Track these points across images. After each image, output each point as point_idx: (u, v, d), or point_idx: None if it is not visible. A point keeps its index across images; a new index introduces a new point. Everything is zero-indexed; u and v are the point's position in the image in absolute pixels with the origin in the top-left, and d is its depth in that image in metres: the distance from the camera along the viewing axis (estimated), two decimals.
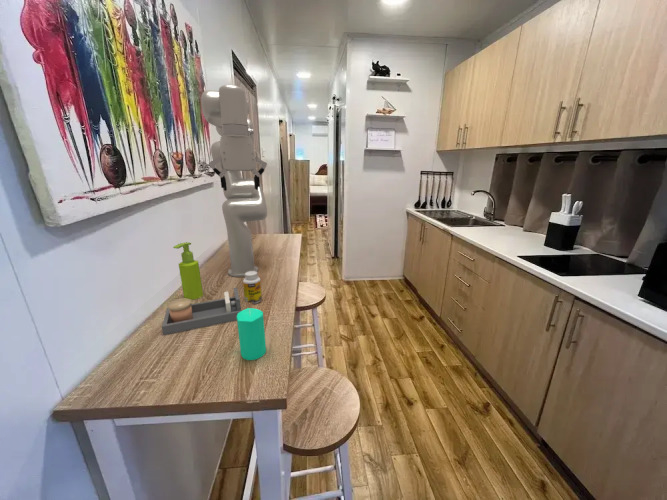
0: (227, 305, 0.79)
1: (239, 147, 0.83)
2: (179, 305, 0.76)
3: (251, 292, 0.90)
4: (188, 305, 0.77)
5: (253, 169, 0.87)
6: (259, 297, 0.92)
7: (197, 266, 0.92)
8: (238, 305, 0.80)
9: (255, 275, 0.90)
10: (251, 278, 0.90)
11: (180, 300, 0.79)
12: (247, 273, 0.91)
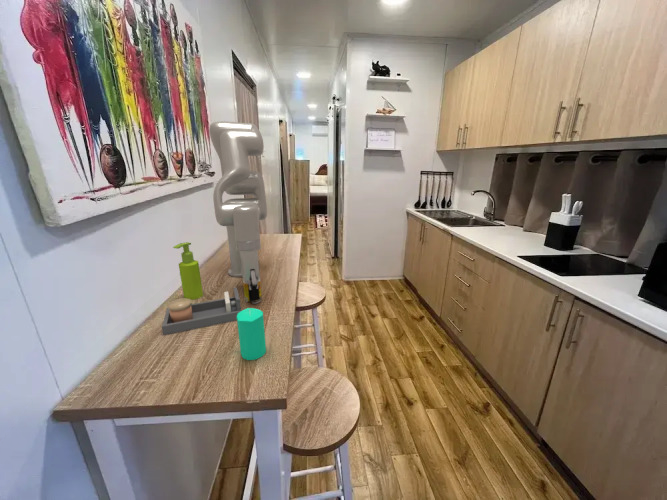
0: (227, 305, 0.79)
1: None
2: (179, 305, 0.76)
3: None
4: (188, 305, 0.77)
5: None
6: (259, 297, 0.92)
7: (197, 266, 0.92)
8: (238, 305, 0.80)
9: None
10: None
11: (180, 300, 0.79)
12: None
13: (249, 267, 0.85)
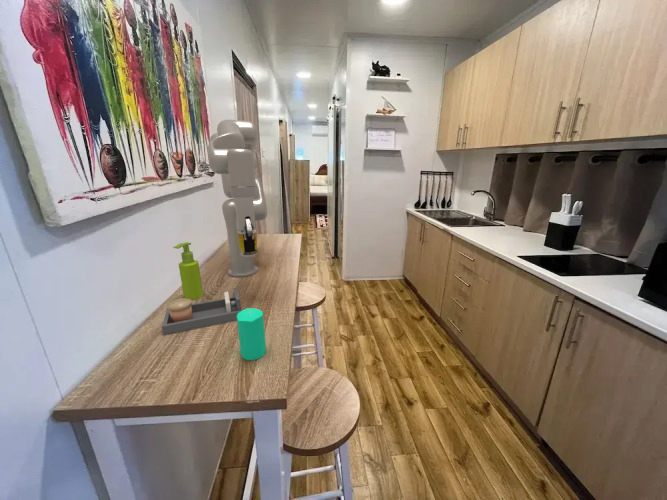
0: (227, 305, 0.79)
1: None
2: (179, 305, 0.76)
3: None
4: (188, 305, 0.77)
5: None
6: (255, 250, 0.88)
7: (197, 266, 0.92)
8: (238, 305, 0.80)
9: None
10: (246, 228, 0.85)
11: (180, 300, 0.79)
12: None
13: (244, 214, 0.81)
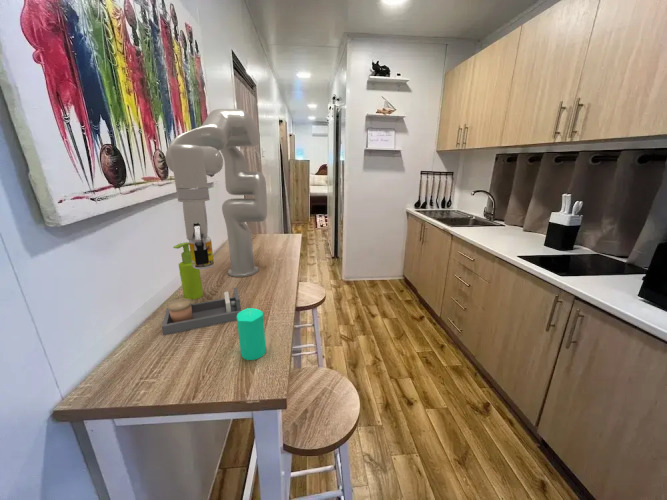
0: (227, 305, 0.79)
1: None
2: (179, 305, 0.76)
3: None
4: (188, 305, 0.77)
5: None
6: (209, 261, 0.76)
7: None
8: (238, 305, 0.80)
9: None
10: None
11: (180, 300, 0.79)
12: None
13: (192, 221, 0.69)
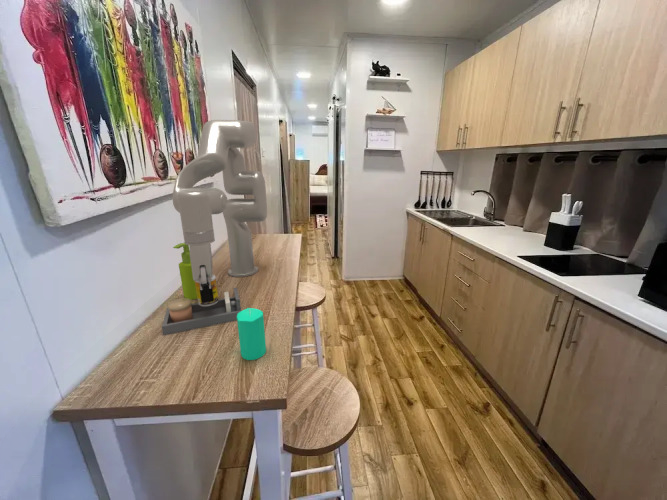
0: (227, 305, 0.79)
1: None
2: (179, 305, 0.76)
3: None
4: (188, 305, 0.77)
5: None
6: (214, 298, 0.79)
7: None
8: (238, 305, 0.80)
9: None
10: None
11: (180, 300, 0.79)
12: None
13: (198, 263, 0.72)
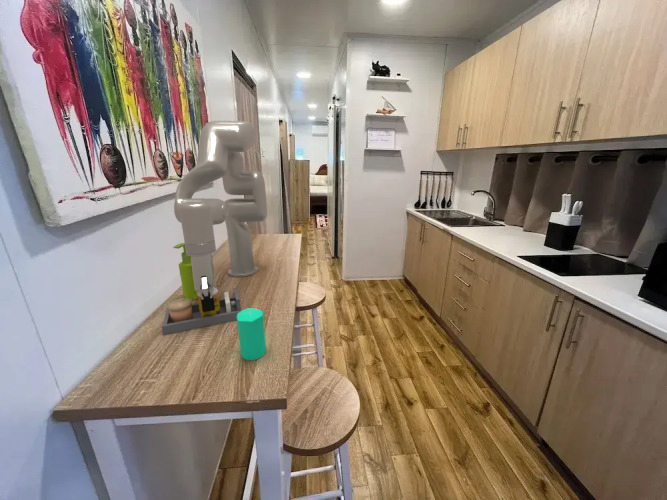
0: (227, 305, 0.79)
1: (211, 260, 0.79)
2: (179, 305, 0.76)
3: None
4: (188, 305, 0.77)
5: None
6: (216, 311, 0.81)
7: None
8: (238, 305, 0.80)
9: None
10: None
11: (180, 300, 0.79)
12: None
13: (200, 274, 0.73)
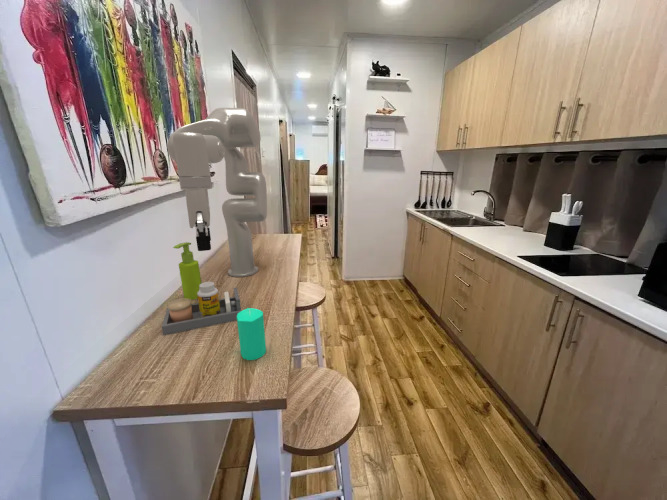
0: (227, 305, 0.79)
1: (207, 199, 0.75)
2: (179, 305, 0.76)
3: (206, 306, 0.79)
4: (188, 305, 0.77)
5: None
6: (216, 311, 0.81)
7: (197, 266, 0.92)
8: (238, 305, 0.80)
9: (211, 286, 0.79)
10: (206, 290, 0.78)
11: (180, 300, 0.79)
12: (202, 284, 0.79)
13: (195, 208, 0.70)
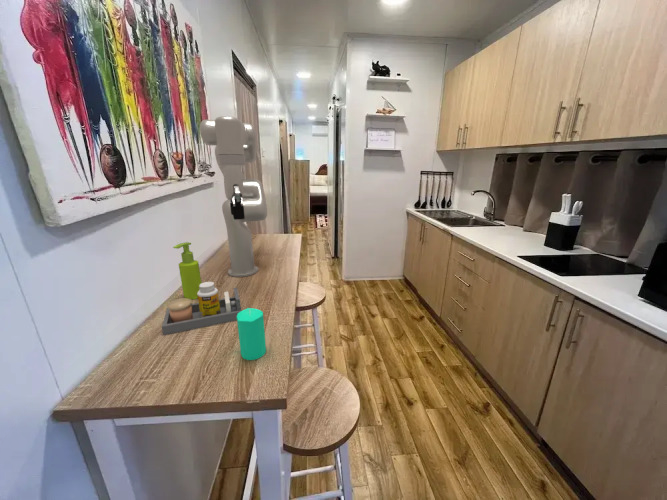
0: (227, 305, 0.79)
1: None
2: (179, 305, 0.76)
3: (206, 306, 0.79)
4: (188, 305, 0.77)
5: None
6: (216, 311, 0.81)
7: (197, 266, 0.92)
8: (238, 305, 0.80)
9: (211, 286, 0.79)
10: (206, 290, 0.78)
11: (180, 300, 0.79)
12: (202, 284, 0.79)
13: (232, 182, 0.82)
